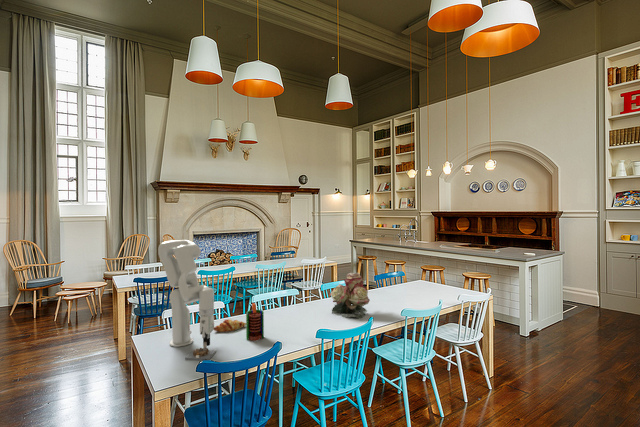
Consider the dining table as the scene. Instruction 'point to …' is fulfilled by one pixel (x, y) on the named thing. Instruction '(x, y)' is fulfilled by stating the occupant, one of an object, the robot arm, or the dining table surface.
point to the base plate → (197, 357)
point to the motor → (254, 324)
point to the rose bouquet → (350, 297)
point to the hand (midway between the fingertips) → (206, 345)
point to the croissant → (229, 325)
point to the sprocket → (201, 350)
